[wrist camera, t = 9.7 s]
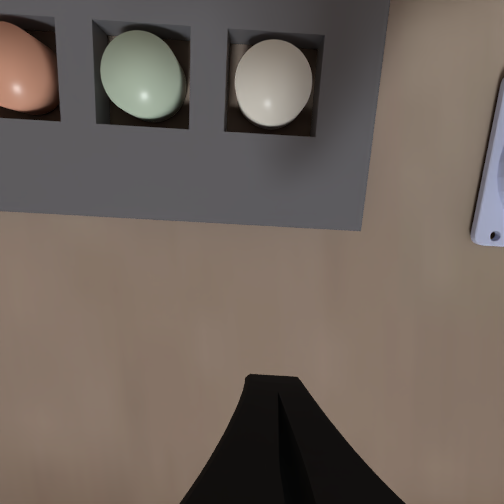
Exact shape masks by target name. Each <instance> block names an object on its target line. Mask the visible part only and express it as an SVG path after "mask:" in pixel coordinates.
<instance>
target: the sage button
mask: <svg viewBox="0 0 504 504" xmlns="http://www.w3.org/2000/svg"><path fill="white" fill-rule="evenodd" d="M100 72H101V80H102V83H103V86H104V89H105V91H106V93H107V95H108V96H109V98H110V99H111V100H112V101H113V102H114V103H115V104H116V105H117V106H118V107H119V108H121V109H122V110H124V111H126V112H127V113H129V114H131V115H133V116H135V117H136V118H138V119H140V120H143V121H146V122H162V121H165V120H167V119H169V118H171V117H172V116H174V115H175V114H176V113H177V112H178V111H179V109H180V108H181V106H182V105H183V102H184V100H185V96H186V89H187V86H186V78H185V74H184V72H183V69H182V67H181V66H180V64H179V62H178V61H177V59H176V57H175V56H174V54H173V52H172V51H171V49H170V48H169V46H168V45H167V44H166V43H165V42H164V41H163V40H162V39H160V38H159V37H157V36H156V35H154V34H152V33H150V32H146V31H141V30H133V31H127V32H124V33H122V34H120V35H118V36H117V37H115V38H114V39H113V40H112V41H111V42H110V43H109V45H108V46H107V48H106V49H105V51H104V53H103V56H102V60H101V67H100Z"/></svg>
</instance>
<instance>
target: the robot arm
mask: <svg viewBox="0 0 504 504" xmlns="http://www.w3.org/2000/svg"><path fill="white" fill-rule="evenodd" d="M492 232H495V236H494V238H493V239H490V235H491V233H492ZM471 239H472V241H473V242H474V243H476V244H479V245H485V246H503V247H504V78H503V79H502V82H501V85H500V90H499V95H498V100H497V105H496V110H495V115H494V120H493V125H492V130H491V135H490V140H489V145H488V150H487V155H486V160H485V165H484V170H483V175H482V180H481V185H480V190H479V195H478V200H477V205H476V210H475V215H474V220H473V225H472V230H471ZM180 504H405V503H404V502H403V501H402V500H401V499H400V498H399V497H398V496H397V495H396V494H395V493H394V492H393V491H392V490H391V489H390V488H389V487H388V486H387V485H386V484H385V483H384V482H383V481H382V480H381V479H380V478H379V477H378V476H377V475H376V474H375V473H374V472H373V470H372V469H371V468H370V467H369V466H368V465H367V464H366V463H365V462H364V461H363V459H362V458H361V457H360V456H359V455H358V454H357V453H356V452H355V450H354V449H353V448H352V447H351V446H350V445H349V443H348V442H347V441H346V440H345V439H344V437H343V436H342V435H341V434H340V432H339V431H338V430H337V429H336V427H335V426H334V425H333V424H332V422H331V421H330V420H329V419H328V417H327V416H326V415H325V413H324V412H323V411H322V409H321V408H320V407H319V405H318V404H317V403H316V401H315V400H314V399H313V397H312V396H311V395H310V393H309V392H308V390H307V389H306V388H305V386H304V385H303V383H302V382H301V381H300V379H299V378H298V377H291V376H275V375H258V374H249V375H248V376H247V377H246V378H245V384H244V388H243V392H242V395H241V397H240V400H239V402H238V405H237V407H236V410H235V412H234V414H233V416H232V418H231V420H230V422H229V424H228V426H227V429H226V430H225V432H224V434H223V436H222V438H221V440H220V441H219V443H218V445H217V446H216V448H215V450H214V452H213V453H212V455H211V457H210V459H209V460H208V462H207V464H206V465H205V467H204V468H203V470H202V471H201V473H200V475H199V476H198V478H197V479H196V481H195V482H194V484H193V485H192V487H191V488H190V489H189V491H188V492H187V494H186V495H185V497H184V498H183V499H182V501H181V502H180Z"/></svg>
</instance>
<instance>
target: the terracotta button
mask: <svg viewBox="0 0 504 504" xmlns="http://www.w3.org/2000/svg"><path fill="white" fill-rule="evenodd" d="M59 104H60V99H59V83H58V67H57V55H56V54H55V53H54V52H53V51H52V50H51V49H50V48H49V47H48V46H46V45H45V44H43V43H42V42H40V41H39V40H37V39H36V38H34V37H33V36H31V35H30V34H28V33H27V32H25V31H24V30H22V29H21V28H19V27H17V26H16V25H13V24H11V23H8V22H4V21H0V106H2V107H5V108H8V109H12V110H15V111H19V112H22V113H25V114H29V115H42V114H46V113H48V112H50V111H52V110H53V109H55V108H56V107H57V106H58V105H59Z"/></svg>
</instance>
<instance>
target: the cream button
mask: <svg viewBox="0 0 504 504" xmlns="http://www.w3.org/2000/svg"><path fill="white" fill-rule="evenodd" d="M311 89H312V73H311V68H310V66H309V63H308V61H307V59H306V57H305V56H304V54H303V53H302V52H301V51H300V50H299V49H298V48H297V47H295V46H294V45H292V44H291V43H288V42H286V41H283V40H277V39H271V40H265V41H262V42H259V43H257V44H255V45H254V46H252V47H251V48H250V49H249V50H248V51H247V52H246V53H245V54H244V55H243V57H242V58H241V60H240V62H239V64H238V67H237V70H236V74H235V90H236V96H237V102H238V105H239V108H240V110H241V112H242V114H243V115H244V117H245V118H246V119H247V120H248V121H249V122H250V123H252V124H253V125H255V126H257V127H259V128H262V129H268V130H273V129H279V128H282V127H284V126H286V125H288V124H290V123H291V122H292V121H293V120H294V119H295V118H296V117H297V116H298V114H299V113H300V112H301V110H302V109H303V108H304V106H305V105H306V103H307V101H308V99H309V96H310V93H311Z"/></svg>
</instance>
